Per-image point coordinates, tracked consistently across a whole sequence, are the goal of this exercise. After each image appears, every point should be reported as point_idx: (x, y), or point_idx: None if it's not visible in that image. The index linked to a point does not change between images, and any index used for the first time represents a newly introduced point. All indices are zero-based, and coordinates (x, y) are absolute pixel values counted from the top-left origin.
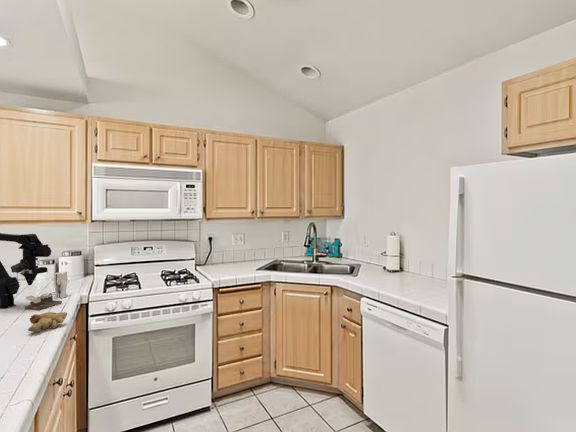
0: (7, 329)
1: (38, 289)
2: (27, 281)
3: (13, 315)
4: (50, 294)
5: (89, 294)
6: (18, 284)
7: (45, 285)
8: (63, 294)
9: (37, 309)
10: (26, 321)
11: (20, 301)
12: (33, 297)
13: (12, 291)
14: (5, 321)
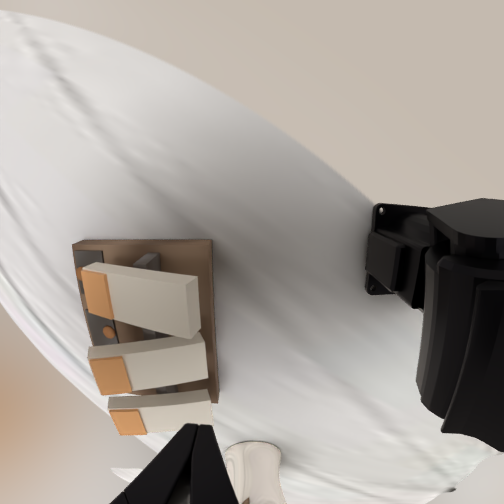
0: (17, 21)
1: (445, 452)
2: (199, 475)
3: (138, 103)
4: (120, 403)
5: None
6: (439, 408)
7: (447, 469)
8: (227, 466)
9: (92, 241)
10: (8, 92)
11: (413, 355)
12: (143, 312)
13: (424, 305)
14: (87, 34)
